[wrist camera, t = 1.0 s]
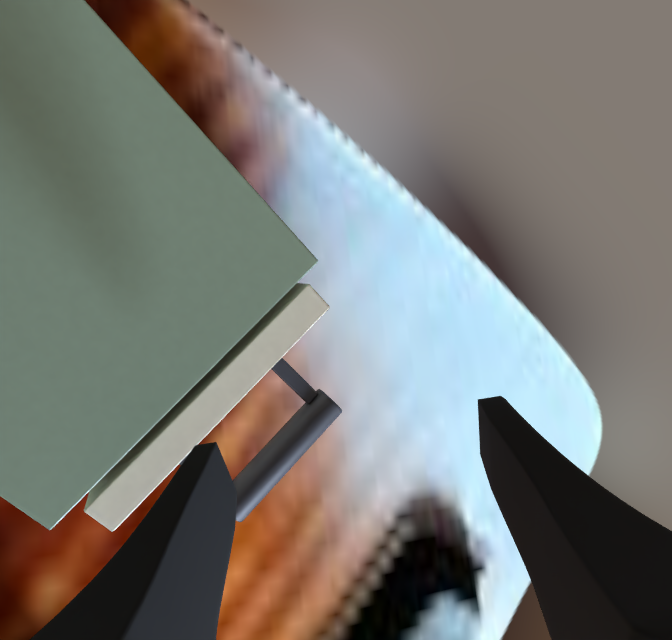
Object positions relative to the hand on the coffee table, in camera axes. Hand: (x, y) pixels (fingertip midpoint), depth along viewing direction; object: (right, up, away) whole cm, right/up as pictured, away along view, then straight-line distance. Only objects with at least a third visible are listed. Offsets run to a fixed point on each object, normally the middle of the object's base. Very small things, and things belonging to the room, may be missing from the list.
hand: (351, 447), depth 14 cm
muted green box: (-12, +7, +8) cm, 16 cm away
